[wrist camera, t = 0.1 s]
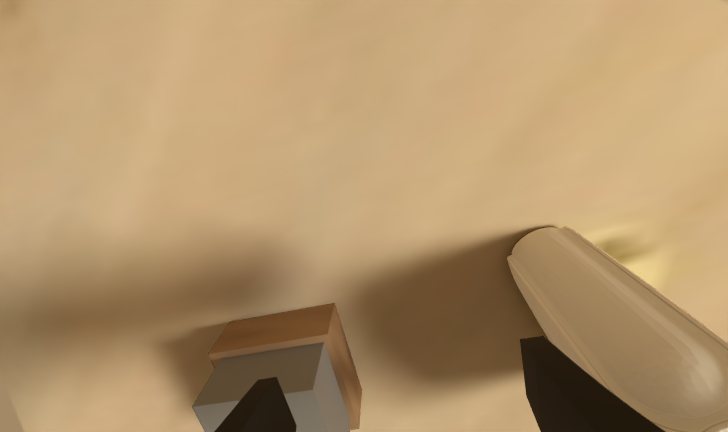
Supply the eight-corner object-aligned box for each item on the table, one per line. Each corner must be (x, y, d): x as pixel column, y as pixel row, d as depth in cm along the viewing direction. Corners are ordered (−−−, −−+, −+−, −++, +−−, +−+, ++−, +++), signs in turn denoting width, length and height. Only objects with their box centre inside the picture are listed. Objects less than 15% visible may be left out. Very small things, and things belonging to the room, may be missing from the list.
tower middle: (350, 423, 20) (344, 479, 17) (256, 435, 21) (235, 491, 18) (324, 341, 19) (312, 389, 16) (221, 358, 19) (191, 407, 16)
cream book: (635, 343, 21) (950, 656, 9) (567, 372, 22) (775, 688, 10) (565, 209, 18) (880, 412, 7) (492, 249, 19) (656, 486, 8)
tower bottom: (362, 385, 24) (359, 428, 21) (266, 400, 24) (250, 443, 21) (335, 300, 21) (327, 334, 18) (231, 319, 22) (208, 354, 19)
